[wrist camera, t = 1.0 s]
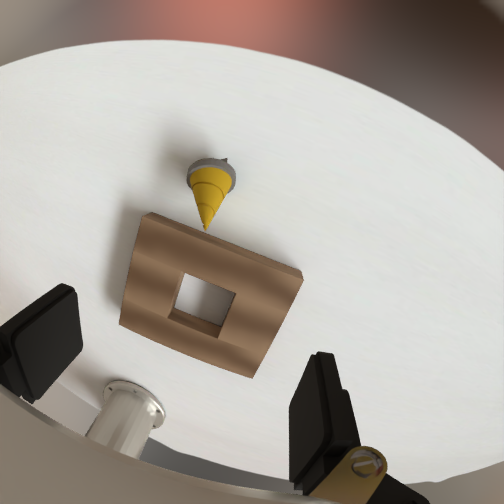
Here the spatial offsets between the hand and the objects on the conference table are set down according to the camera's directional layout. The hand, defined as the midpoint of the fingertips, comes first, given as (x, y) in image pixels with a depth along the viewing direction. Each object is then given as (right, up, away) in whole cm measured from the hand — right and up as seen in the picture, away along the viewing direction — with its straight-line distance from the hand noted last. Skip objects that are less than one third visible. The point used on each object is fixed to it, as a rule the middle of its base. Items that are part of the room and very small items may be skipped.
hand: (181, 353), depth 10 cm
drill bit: (-1, +11, +23) cm, 26 cm away
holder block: (-4, -2, +27) cm, 27 cm away
